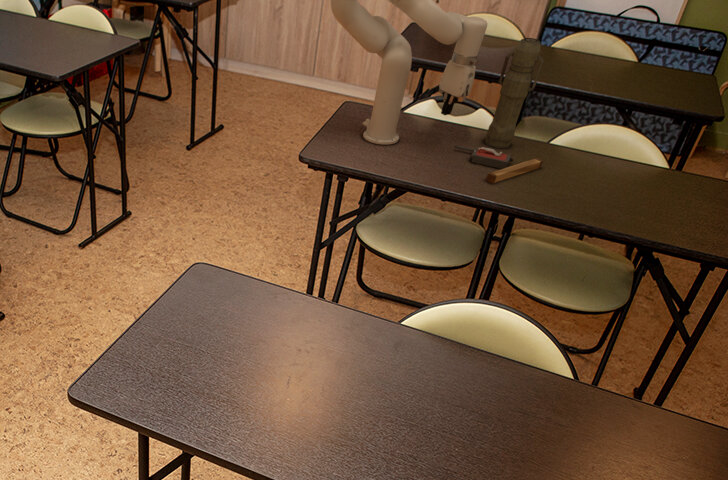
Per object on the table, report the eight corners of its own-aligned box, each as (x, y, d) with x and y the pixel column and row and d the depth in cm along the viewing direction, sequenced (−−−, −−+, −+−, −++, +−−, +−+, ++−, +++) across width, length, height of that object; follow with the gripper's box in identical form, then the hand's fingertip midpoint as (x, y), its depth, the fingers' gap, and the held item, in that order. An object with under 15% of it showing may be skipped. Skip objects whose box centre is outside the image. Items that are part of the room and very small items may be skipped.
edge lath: (485, 180, 222) (487, 173, 221) (533, 165, 232) (536, 157, 231) (492, 183, 221) (494, 176, 219) (540, 167, 231) (543, 160, 229)
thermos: (481, 135, 251) (513, 33, 228) (515, 142, 247) (551, 39, 224) (478, 144, 245) (510, 40, 222) (512, 151, 241) (548, 45, 218)
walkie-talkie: (513, 161, 234) (453, 148, 241) (517, 149, 231) (457, 136, 238) (508, 171, 228) (448, 157, 235) (513, 158, 225) (451, 145, 232)
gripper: (489, 65, 222) (469, 120, 234) (453, 50, 231) (436, 104, 243) (473, 67, 219) (454, 123, 231) (438, 52, 228) (422, 107, 240)
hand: (445, 113), depth 237 cm, fingers closed
